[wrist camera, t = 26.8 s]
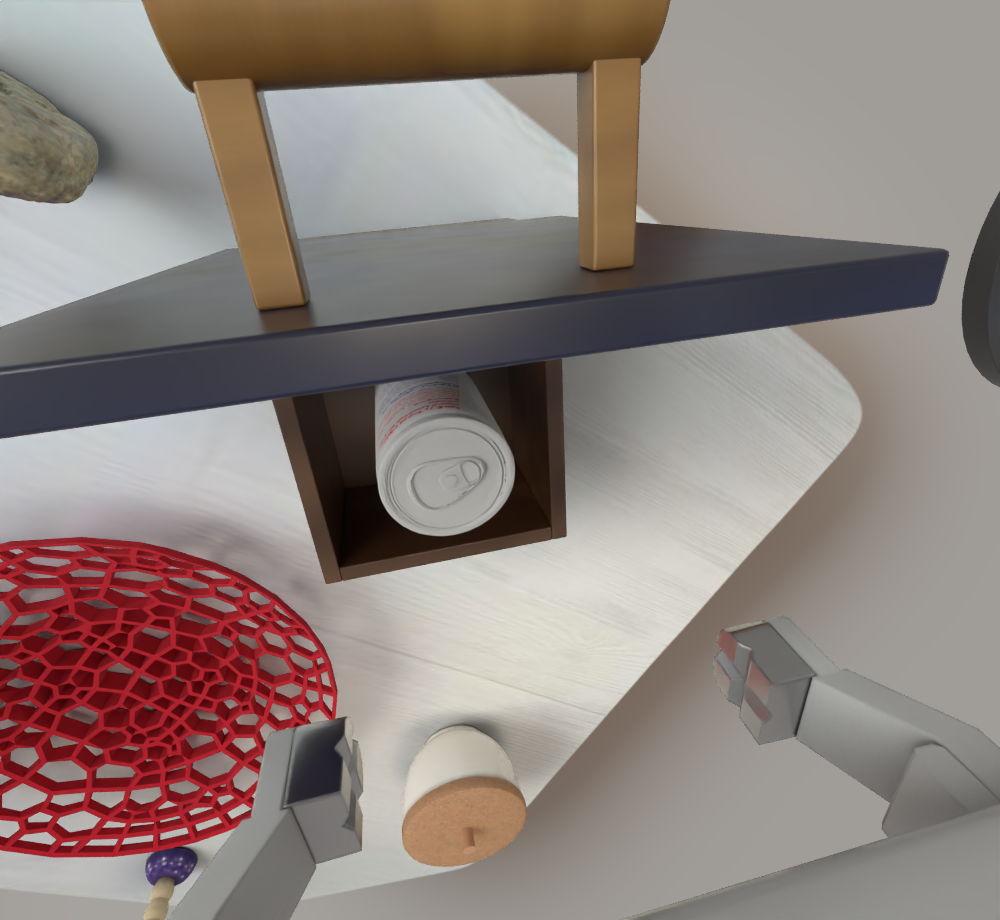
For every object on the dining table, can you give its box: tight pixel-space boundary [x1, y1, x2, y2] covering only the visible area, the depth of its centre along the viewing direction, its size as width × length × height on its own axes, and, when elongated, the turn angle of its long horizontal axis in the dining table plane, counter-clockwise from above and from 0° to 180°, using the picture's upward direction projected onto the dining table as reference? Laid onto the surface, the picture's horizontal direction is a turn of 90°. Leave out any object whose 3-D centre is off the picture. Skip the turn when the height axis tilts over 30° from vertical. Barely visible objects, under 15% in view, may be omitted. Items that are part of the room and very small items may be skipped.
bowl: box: [0, 537, 337, 857], centre depth 38 cm, size 29×29×5 cm
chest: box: [272, 218, 567, 584], centre depth 31 cm, size 17×14×10 cm
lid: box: [0, 0, 949, 439], centre depth 13 cm, size 18×14×5 cm
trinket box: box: [402, 725, 527, 867], centre depth 48 cm, size 11×11×9 cm
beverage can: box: [374, 372, 515, 536], centre depth 28 cm, size 6×6×15 cm
